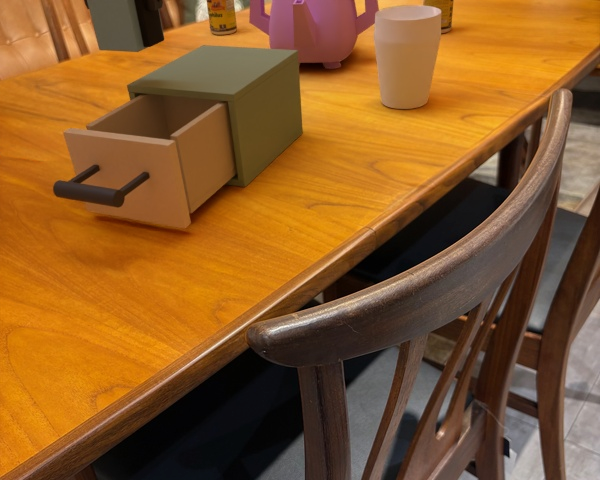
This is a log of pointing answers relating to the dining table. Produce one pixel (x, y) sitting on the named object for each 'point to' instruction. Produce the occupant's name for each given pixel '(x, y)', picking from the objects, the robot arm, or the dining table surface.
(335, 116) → the dining table surface
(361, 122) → the dining table surface
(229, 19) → the supplement bottle
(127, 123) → the drawer
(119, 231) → the dining table surface
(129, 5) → the block
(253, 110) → the cabinet
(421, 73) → the cup
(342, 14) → the teapot
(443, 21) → the supplement bottle
